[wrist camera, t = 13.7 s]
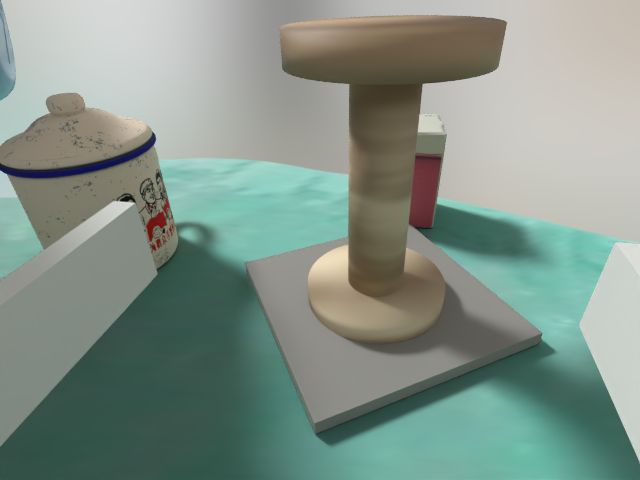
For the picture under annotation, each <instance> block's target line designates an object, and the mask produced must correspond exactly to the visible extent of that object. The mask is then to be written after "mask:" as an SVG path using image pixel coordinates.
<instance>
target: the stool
mask: <svg viewBox="0 0 640 480" xmlns="http://www.w3.org/2000/svg"><path fill="white" fill-rule="evenodd" d="M506 25H507V22H506V21H504V20H500V19H494V18H485V17H471V16H443V15H442V16H441V15H440V16H438V15H406V16H371V17H351V18H335V19H324V20H313V21H304V22H297V23H292V24H287V25H284V26H281V27H280V29H279V30H280V41H281V42H280V43H281V56H282V68H283V70H284V71H285V72H287V73H288V74H291V75H293V76H296V77H300V78H305V79H310V80H316V81H323V82H332V83H344V84H349V226H348V245H344V246H341V247H338V248H336V249H333V250H331V251H329V252H327V253H326V254H324V255H323V256H321V257H320V258H319V259H318V260H317V261H316V262H315V263H314V265H313V266H312V268H311V269H310V272H309V275H308V294H309V304H310V307H311V309H312V312H313V313H314V315H315V316H316V318H317V319H318V320H319V321H320V322H321V323H322V324H323V325H324V326H325V327H327V328H328V329H329V330H331V331H333V332H334V333H336V334H338V335H340V336H342V337H345V338H348V339H351V340H354V341H358V342H363V343H370V344H392V343H398V342H403V341H407V340H410V339H413V338H415V337H418V336H420V335H421V334H423V333H425V332H426V331H428V330H429V329H430V328H431V327H432V326H433V325H434V324H435V323H436V322H437V320H438V319H439V317H440V315H441V312H442V308H443V302H444V296H445V289H446V287H445V281H444V278H443V275H442V274H441V272H440V270H439V269H438V268H437V266H436V265H435V264H434V263H433V262H431V261H430V260H429V259H428V258H426V257H425V256H423V255H422V254H420V253H418V252H416V251H414V250H411V249H409V248H406V244H407V234H408V224H409V214H410V204H411V194H412V184H413V174H414V164H415V154H416V144H417V134H418V124H419V114H420V104H421V94H422V84H424V83H437V82H446V81H455V80H461V79H467V78H472V77H477V76H481V75H484V74H487V73H490V72H493V71H494V70H496V69H497V68H498V66H499V61H500V56H501V51H502V45H503V40H504V35H505V30H506Z"/></svg>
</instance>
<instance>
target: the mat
mask: <svg viewBox="0 0 640 480" xmlns="http://www.w3.org/2000/svg"><path fill="white" fill-rule="evenodd" d="M344 245H348V237H346V238H342V239H338V240H334V241H330V242H326V243H322V244H318V245H314V246H310V247H306V248H302V249H298V250H294V251H291V252H287V253H283V254H279V255H275V256H271V257H267V258H263V259H259V260H255V261H251V262H247V263H245V266H246V272H247V274H248V277H249V279H250V281H251V284H252V286H253V289H254V291H255V293H256V296H257V298H258V300H259V303H260V305H261V307H262V310H263V312H264V315H265V317H266V319H267V322H268V324H269V326H270V329H271V331H272V333H273V336H274V338H275V341H276V343H277V345H278V348H279V350H280V352H281V355H282V357H283V359H284V362H285V364H286V367H287V369H288V371H289V374H290V376H291V378H292V381H293V383H294V385H295V388H296V390H297V393H298V395H299V397H300V400H301V402H302V404H303V407H304V409H305V411H306V414H307V416H308V418H309V421H310V423H311V426H312V428H313V430H314V433H315V434H317V433H319V432H322V431H324V430H327V429H329V428H332V427H334V426H337V425H339V424H342V423H344V422H347V421H349V420H351V419H354V418H356V417H359V416H361V415H364V414H366V413H369V412H371V411H374V410H376V409H379V408H381V407H384V406H386V405H388V404H391V403H393V402H396V401H398V400H401V399H403V398H406V397H408V396H411V395H413V394H416V393H418V392H421V391H423V390H426V389H428V388H430V387H433V386H435V385H438V384H440V383H443V382H445V381H448V380H450V379H453V378H455V377H458V376H460V375H463V374H465V373H468V372H470V371H472V370H475V369H477V368H480V367H482V366H485V365H487V364H490V363H492V362H495V361H497V360H500V359H502V358H505V357H507V356H510V355H512V354H514V353H517V352H519V351H522V350H524V349H527V348H529V347H532V346H534V345H537V344H539V341H540V339H541V336H542V332H541V331H539V330H538V329H537V328H536V327H534V326H533V325H532V324H531V323H530V322H528V321H527V320H526V319H525V318H524V317H522V316H521V315H520V314H519V313H517V312H516V311H515V310H514V309H513V308H511V307H510V306H509V305H508V304H506V303H505V302H504V301H503V300H502V299H500V298H499V297H498V296H497V295H496V294H494V293H493V292H492V291H491V290H489V289H488V288H487V287H486V286H485V285H483V284H482V283H481V282H480V281H478V280H477V279H476V278H475V277H474V276H472V275H471V274H470V273H469V272H468V271H466V270H465V269H464V268H463V267H461V266H460V265H459V264H458V263H457V262H455V261H454V260H453V259H452V258H450V257H449V256H448V255H447V254H446V253H444V252H443V251H442V250H441V249H440V248H438V247H437V246H436V245H435V244H433V243H432V242H431V241H430V240H429V239H427V238H426V237H425V236H424V235H422V234H421V233H420V232H419V231H418V230H416V229H415V228H414V227H413V226H411V225H410V224H408V234H407V244H406V248H409V249H411V250H414V251H416V252H418V253H420V254H422V255H423V256H425V257H426V258H428V259H429V260H430V261H431V262H433V263H434V264H435V265H436V266H437V268H438V269H439V270H440V272H441V274H442V275H443V278H444V281H445V287H446V289H445V296H444V302H443V308H442V312H441V315H440V317H439V319H438V320H437V322H436V323H435V324H434V325H433V326H432V327H431V328H430V329H429V330H428V331H426V332H425V333H423V334H421V335H420V336H418V337H415V338H413V339H410V340H407V341H403V342H398V343H392V344H370V343H363V342H358V341H354V340H351V339H348V338H345V337H342V336H340V335H338V334H336V333H334V332H333V331H331V330H329V329H328V328H327V327H325V326H324V325H323V324H322V323H321V322H320V321H319V320H318V319H317V318H316V316H315V315H314V313H313V312H312V309H311V307H310V304H309V294H308V275H309V272H310V269H311V268H312V266H313V265H314V263H315V262H316V261H317V260H318V259H319V258H320V257H321V256H323V255H324V254H326V253H327V252H329V251H331V250H333V249H336V248H338V247H341V246H344Z"/></svg>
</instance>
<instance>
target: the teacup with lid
mask: <svg viewBox="0 0 640 480" xmlns="http://www.w3.org/2000/svg"><path fill="white" fill-rule="evenodd" d="M46 105H47V108H48V110H49V112H50V113H49V114H46V115H44V116H42V117H40V118H38V119H37V120H36V121H34V122H33V123H32V124H31V125H30V126H29V127H28V129H27V130H25V131H24V132H23V133H21V134H18V135H16V136H14V137H12V138H10V139H8V140H7V141H5V142H4V143H3V144H2V145H1V146H0V170H1V171H2V172H4V173H6V174H7V175H8V177H9V179H10V181H11V183H12V185H13V187H14V189H15V191H16V193H17V195H18V198H19V200H20V202H21V204H22V206H23V208H24V210H25V212H26V214H27V216H28V218H29V220H30V222H31V224H32V226H33V228H34V230H35V232H36V235H37V237H38V239H39V241H40V243H41V245H42V247H43V249H44V250H45V249H46V248H48V247H49V246H51V245H52V244H53V243H55V242H56V241H58V240H59V239H61V238H62V237H63V236H65V235H66V234H68V233H69V232H70V231H72V230H73V229H75V228H76V227H78V226H79V225H80V224H82V223H83V222H85V221H86V220H88V219H89V218H90V217H92V216H93V215H95V214H96V213H97V212H99V211H100V210H102V209H103V208H105V207H106V206H107V205H109V204H110V203H112V202H113V201H120V202H132V203H136V206H137V209H138V212H139V216H140V219H141V222H142V225H143V228H144V232H145V235H146V238H147V241H148V244H149V247H150V251H151V254H152V257H153V260H154V263H155V266H156V269H158V268H159V267H161V266H162V265H163V264H164V263H166V262H167V261H168V260H169V259H170V258H171V257H172V255H173V254H174V252H175V250H176V249H177V246H178V234H177V231H176V227H175V223H174V219H173V215H172V212H171V208H170V204H169V200H168V197H167V193H166V189H165V185H164V181H163V178H162V174H161V170H160V166H159V161H158V156H157V152H156V150H155V147H154V143H155V141H156V137H155V134H154V133H153V132H152V130H151V128H150V127H149V126H148V125H147V124H146V123H144V122H143V121H140V120H138V119H134V118H128V117H118V116H115V115H113V114H111V113H108V112H106V111H103V110H100V109H95V108H85V103H84V100H83V98H82V97H81V96H80V95H79V94H77V93H63V94H57V95H53V96H50V97H48V98H47V100H46Z"/></svg>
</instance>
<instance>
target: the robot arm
mask: <svg viewBox="0 0 640 480" xmlns="http://www.w3.org/2000/svg"><path fill="white" fill-rule="evenodd" d="M15 80H16V69H15V60H14V54H13V48H12V43H11V39H10V35H9V30H8V27H7V22H6V18H5V14H4V10H3V7H2V3H1V0H0V100H2V99H4V98H5V97H7V96H8V95H9V94H10V92H11V91H12V90H13V88H14V85H15ZM157 275H158V273H157V270H156V266H155V263H154V260H153V257H152V254H151V251H150V247H149V244H148V241H147V238H146V235H145V232H144V228H143V225H142V222H141V219H140V216H139V212H138V209H137V206H136V203H132V202H120V201H113V202H112V203H110V204H109V205H107V206H106V207H105V208H103V209H102V210H100V211H99V212H97V213H96V214H95V215H93V216H92V217H90V218H89V219H88V220H86V221H85V222H83V223H82V224H80V225H79V226H78V227H76V228H75V229H73V230H72V231H70V232H69V233H68V234H66V235H65V236H63V237H62V238H61V239H59V240H58V241H56V242H55V243H53V244H52V245H51V246H49V247H48V248H46V249H45V250H44V251H42V252H41V253H39V254H38V255H36V256H35V257H34V258H32V259H31V260H29V261H28V262H26V263H25V264H24V265H22V266H21V267H19V268H18V269H17V270H15V271H14V272H12V273H11V274H9V275H8V276H7V277H5V278H4V279H2V280H1V281H0V446H1V445H2V444H3V443H4V442H5V441H6V440H7V439H8V438H9V436H10V435H11V434H12V433H13V432H14V431H15V430H16V429H17V428H18V427H19V425H20V424H21V423H22V422H23V421H24V420H25V419H26V418H27V417H28V416H29V415H30V413H31V412H32V411H33V410H34V409H35V408H36V407H37V406H38V405H39V404H40V403H41V401H42V400H43V399H44V398H45V397H46V396H47V395H48V394H49V393H50V392H51V391H52V389H53V388H54V387H55V386H56V385H57V384H58V383H59V382H60V381H61V380H62V378H63V377H64V376H65V375H66V374H67V373H68V372H69V371H70V370H71V369H72V368H73V366H74V365H75V364H76V363H77V362H78V361H79V360H80V359H81V358H82V357H83V356H84V354H85V353H86V352H87V351H88V350H89V349H90V348H91V347H92V346H93V345H94V344H95V342H96V341H97V340H98V339H99V338H100V337H101V336H102V335H103V334H104V333H105V331H106V330H107V329H108V328H109V327H110V326H111V325H112V324H113V323H114V322H115V321H116V319H117V318H118V317H119V316H120V315H121V314H122V313H123V312H124V311H125V310H126V309H127V307H128V306H129V305H130V304H131V303H132V302H133V301H134V300H135V299H136V298H137V297H138V295H139V294H140V293H141V292H142V291H143V290H144V289H145V288H146V287H147V286H148V284H149V283H150V282H151V281H152V280H153V279H154V278H155V277H156V276H157ZM579 326H580V329H581V331H582V333H583V335H584V338H585V340H586V342H587V344H588V347H589V349H590V351H591V353H592V356H593V358H594V360H595V362H596V365H597V367H598V369H599V371H600V374H601V376H602V378H603V381H604V383H605V385H606V387H607V390H608V392H609V394H610V396H611V399H612V401H613V403H614V405H615V408H616V410H617V412H618V414H619V417H620V419H621V421H622V423H623V426H624V428H625V430H626V432H627V435H628V437H629V439H630V441H631V444H632V446H633V448H634V451H635V453H636V455H637V457H638V460H639V462H640V244H631V243H619V242H615V244H614V246H613V249H612V251H611V253H610V255H609V258H608V260H607V262H606V265H605V267H604V269H603V272H602V274H601V276H600V278H599V281H598V283H597V285H596V288H595V290H594V292H593V294H592V297H591V299H590V301H589V304H588V306H587V308H586V310H585V313H584V315H583V317H582V320H581V322H580V324H579Z"/></svg>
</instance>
